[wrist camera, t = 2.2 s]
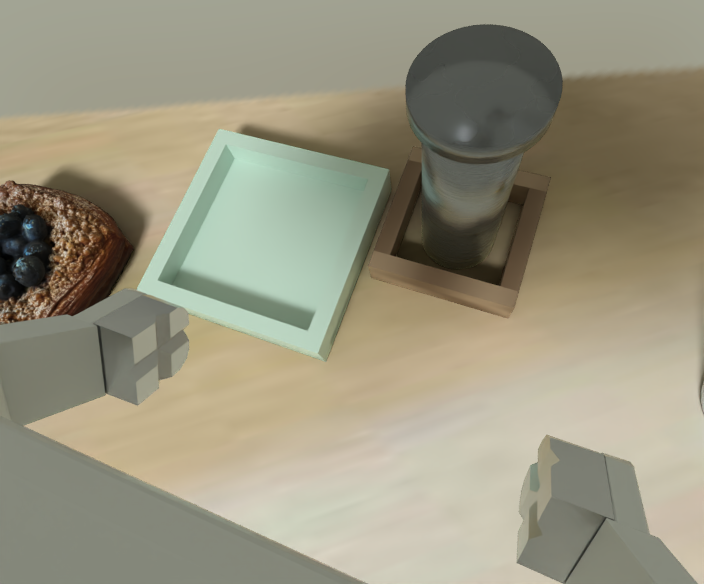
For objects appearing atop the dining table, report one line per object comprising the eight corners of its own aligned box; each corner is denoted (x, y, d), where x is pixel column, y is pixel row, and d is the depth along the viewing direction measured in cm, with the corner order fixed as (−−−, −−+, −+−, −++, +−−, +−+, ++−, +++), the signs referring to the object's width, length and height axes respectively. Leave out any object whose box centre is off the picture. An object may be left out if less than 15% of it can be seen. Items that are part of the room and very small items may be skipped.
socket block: (542, 194, 30) (551, 177, 28) (507, 318, 28) (514, 308, 26) (413, 164, 32) (413, 146, 30) (371, 277, 30) (368, 265, 28)
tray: (391, 189, 31) (389, 169, 29) (326, 361, 28) (317, 353, 26) (232, 150, 34) (219, 128, 32) (156, 302, 31) (136, 290, 29)
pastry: (-61, 323, 33) (-157, 296, 28) (45, 184, 36) (-23, 134, 31) (51, 396, 30) (-31, 383, 25) (157, 239, 33) (104, 195, 28)
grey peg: (514, 208, 30) (578, 37, 18) (490, 289, 28) (541, 163, 16) (427, 187, 31) (431, 14, 19) (400, 264, 30) (385, 129, 18)
